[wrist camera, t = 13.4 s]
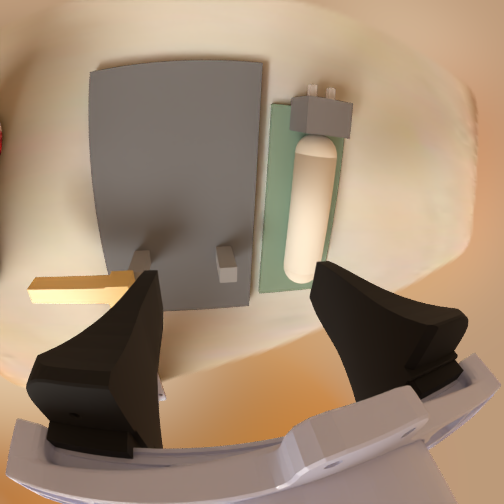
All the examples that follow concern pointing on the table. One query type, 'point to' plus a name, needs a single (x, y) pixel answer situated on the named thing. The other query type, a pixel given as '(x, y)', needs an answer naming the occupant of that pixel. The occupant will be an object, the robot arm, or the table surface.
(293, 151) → the felt pad
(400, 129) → the table surface
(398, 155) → the table surface
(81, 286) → the yellow bar
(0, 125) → the soda can
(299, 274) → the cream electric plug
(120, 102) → the mat
